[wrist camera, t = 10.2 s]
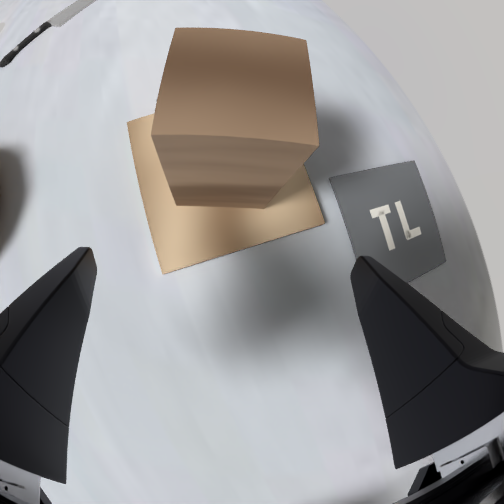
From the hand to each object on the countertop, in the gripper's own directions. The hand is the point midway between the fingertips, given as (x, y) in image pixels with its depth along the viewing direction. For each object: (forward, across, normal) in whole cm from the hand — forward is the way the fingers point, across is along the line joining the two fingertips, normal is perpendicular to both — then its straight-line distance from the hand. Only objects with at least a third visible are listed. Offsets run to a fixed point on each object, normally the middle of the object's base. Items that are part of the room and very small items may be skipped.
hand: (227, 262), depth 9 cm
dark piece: (+24, +17, -13) cm, 32 cm away
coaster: (+10, 0, +1) cm, 10 cm away
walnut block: (+9, 0, 0) cm, 9 cm away
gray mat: (+8, -12, +3) cm, 15 cm away
